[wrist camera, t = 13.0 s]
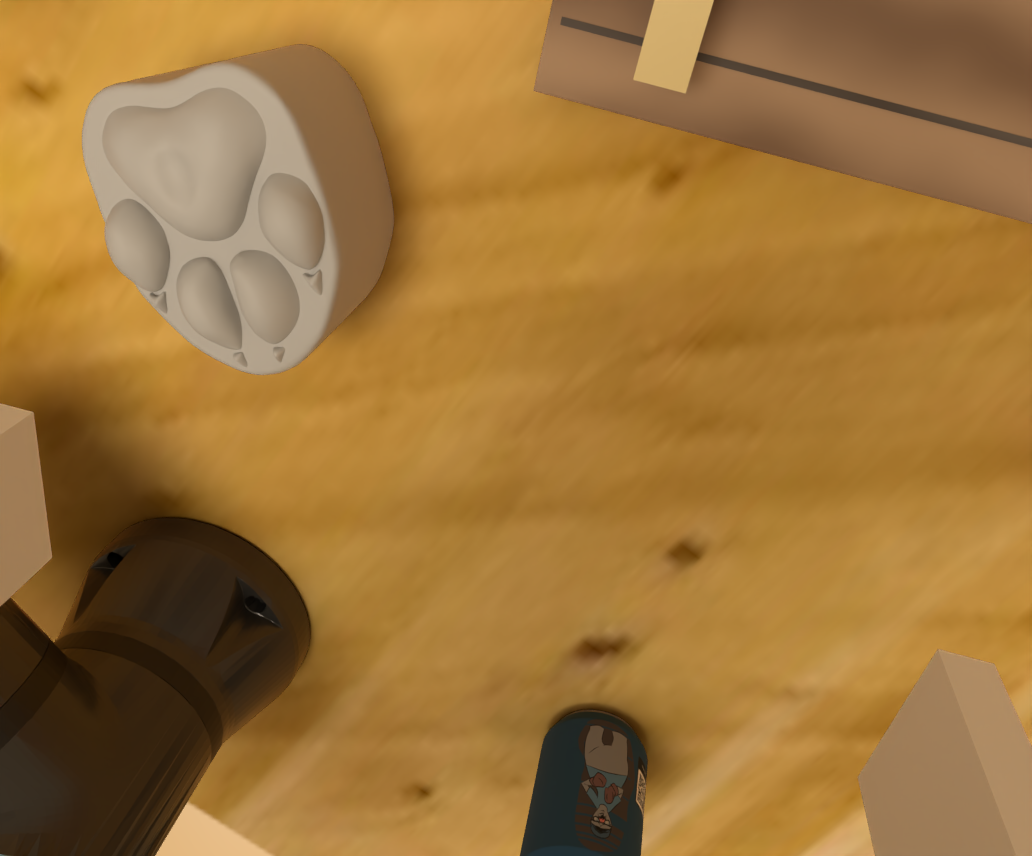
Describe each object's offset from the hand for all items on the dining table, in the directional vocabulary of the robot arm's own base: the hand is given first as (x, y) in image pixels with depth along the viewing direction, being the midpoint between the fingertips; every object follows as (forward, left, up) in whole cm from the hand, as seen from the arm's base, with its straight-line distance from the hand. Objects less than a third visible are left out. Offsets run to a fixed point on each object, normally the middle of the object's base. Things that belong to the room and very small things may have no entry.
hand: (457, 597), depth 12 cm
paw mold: (-6, +15, -30) cm, 34 cm away
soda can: (-37, -9, -29) cm, 48 cm away
